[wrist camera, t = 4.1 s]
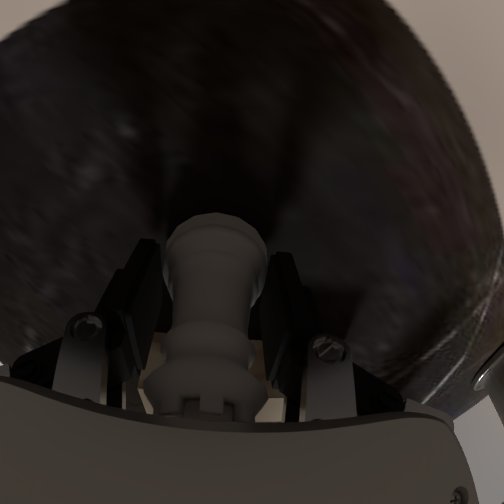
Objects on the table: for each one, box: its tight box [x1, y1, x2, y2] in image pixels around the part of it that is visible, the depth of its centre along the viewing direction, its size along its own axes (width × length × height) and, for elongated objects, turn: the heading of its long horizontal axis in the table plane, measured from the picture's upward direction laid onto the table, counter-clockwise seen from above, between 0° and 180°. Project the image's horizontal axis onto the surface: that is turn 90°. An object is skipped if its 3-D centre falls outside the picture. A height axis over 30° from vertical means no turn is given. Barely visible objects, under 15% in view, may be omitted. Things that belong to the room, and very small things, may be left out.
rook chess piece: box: [143, 212, 268, 423], centre depth 9 cm, size 4×4×8 cm
